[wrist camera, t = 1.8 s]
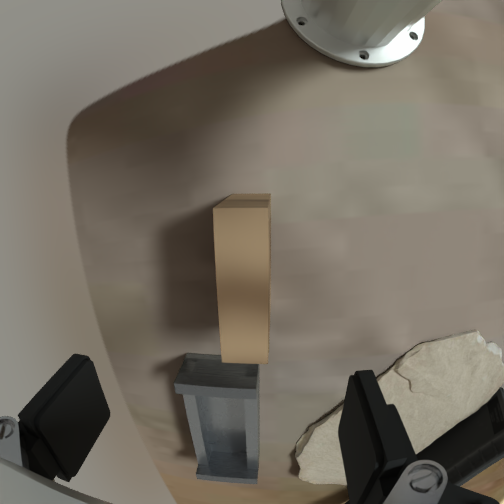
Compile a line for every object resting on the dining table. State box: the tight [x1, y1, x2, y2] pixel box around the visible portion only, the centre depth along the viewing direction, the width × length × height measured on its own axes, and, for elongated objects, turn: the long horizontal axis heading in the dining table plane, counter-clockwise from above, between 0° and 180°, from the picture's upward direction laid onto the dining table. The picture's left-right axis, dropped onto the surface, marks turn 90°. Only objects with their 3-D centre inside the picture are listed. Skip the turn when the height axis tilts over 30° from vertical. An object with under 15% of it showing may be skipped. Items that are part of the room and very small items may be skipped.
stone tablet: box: [295, 330, 504, 485], centre depth 29 cm, size 16×30×2 cm, turn 134°
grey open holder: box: [174, 353, 259, 484], centre depth 29 cm, size 16×7×5 cm, turn 1°
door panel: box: [213, 194, 271, 364], centre depth 22 cm, size 10×3×8 cm, turn 1°
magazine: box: [345, 387, 504, 504], centre depth 27 cm, size 17×3×30 cm
